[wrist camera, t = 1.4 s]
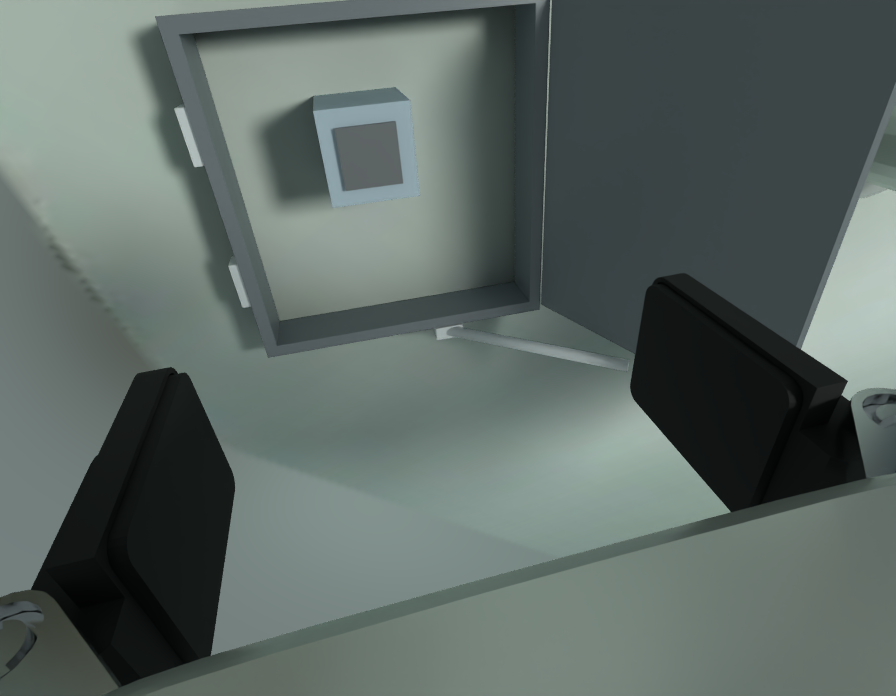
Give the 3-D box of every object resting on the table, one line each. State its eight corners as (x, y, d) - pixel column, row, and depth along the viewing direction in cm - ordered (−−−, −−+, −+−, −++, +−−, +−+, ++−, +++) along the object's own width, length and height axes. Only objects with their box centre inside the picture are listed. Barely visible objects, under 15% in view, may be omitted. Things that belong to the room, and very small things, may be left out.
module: (395, 87, 31) (410, 100, 26) (404, 169, 34) (420, 197, 29) (313, 96, 31) (312, 111, 25) (330, 179, 33) (332, 209, 28)
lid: (552, -4, 27) (563, -5, 27) (541, 304, 38) (549, 300, 38) (940, -38, 15) (951, -39, 16) (767, 423, 26) (776, 416, 26)
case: (581, -18, 30) (701, -34, 21) (562, 294, 42) (633, 374, 33) (160, 17, 27) (76, 17, 18) (267, 345, 39) (252, 450, 29)
